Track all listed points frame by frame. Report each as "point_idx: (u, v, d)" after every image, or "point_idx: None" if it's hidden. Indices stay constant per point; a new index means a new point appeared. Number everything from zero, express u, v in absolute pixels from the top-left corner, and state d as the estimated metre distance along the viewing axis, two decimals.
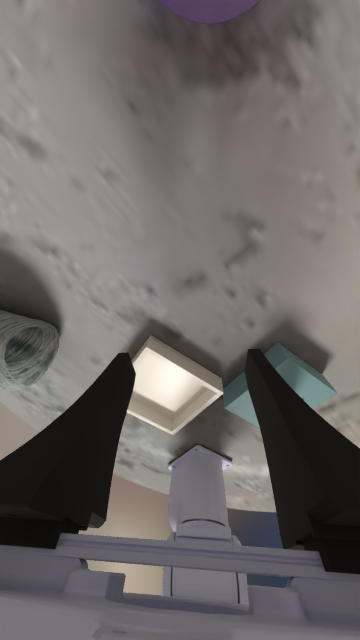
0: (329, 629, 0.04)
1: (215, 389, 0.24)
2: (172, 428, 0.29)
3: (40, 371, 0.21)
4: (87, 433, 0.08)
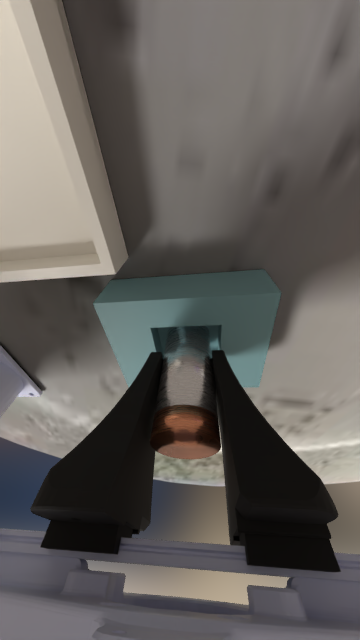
0: (329, 629, 0.04)
1: (105, 252, 0.10)
2: None
3: None
4: (137, 434, 0.07)
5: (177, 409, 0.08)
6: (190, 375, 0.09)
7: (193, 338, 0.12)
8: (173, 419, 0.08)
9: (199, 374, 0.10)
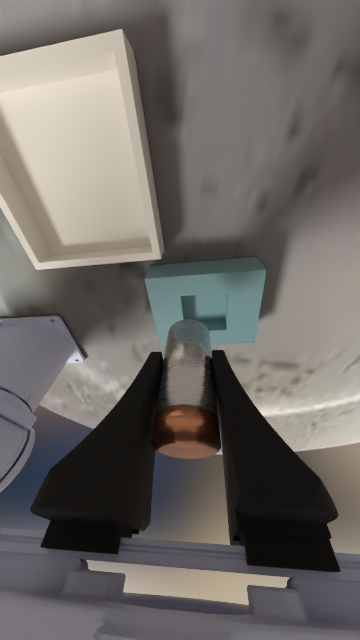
0: (329, 629, 0.04)
1: (155, 244, 0.15)
2: (43, 260, 0.17)
3: None
4: (137, 434, 0.07)
5: (177, 409, 0.08)
6: (190, 375, 0.09)
7: (193, 338, 0.12)
8: (173, 419, 0.08)
9: (199, 374, 0.10)
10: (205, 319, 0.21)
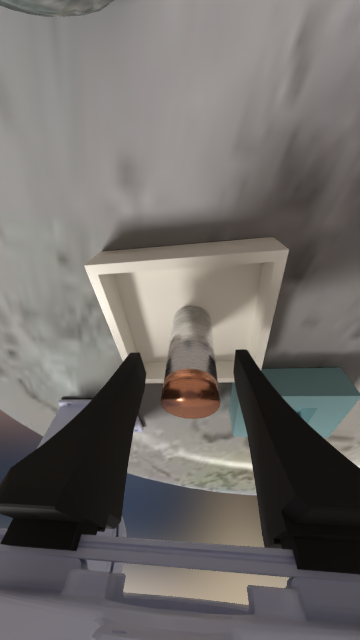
0: (329, 629, 0.04)
1: None
2: None
3: None
4: (104, 433, 0.08)
5: (179, 373, 0.10)
6: (189, 347, 0.11)
7: (192, 320, 0.13)
8: (176, 380, 0.10)
9: (197, 346, 0.11)
10: None
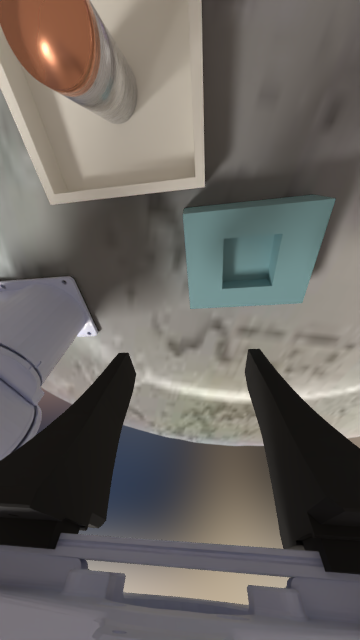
0: (329, 629, 0.04)
1: (201, 165, 0.12)
2: (59, 193, 0.14)
3: None
4: (87, 433, 0.08)
5: None
6: None
7: None
8: None
9: None
10: (244, 276, 0.18)
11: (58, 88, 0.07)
